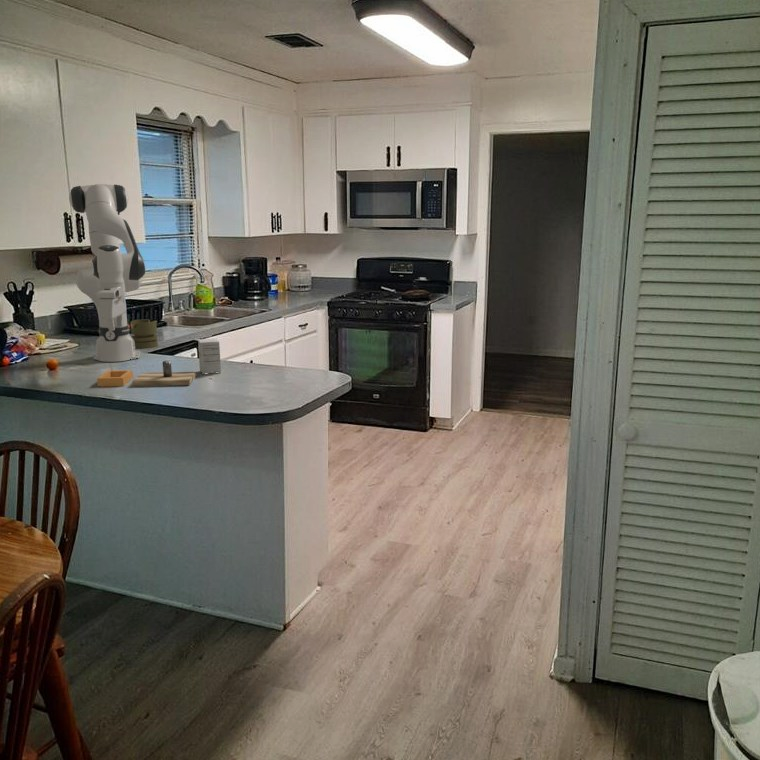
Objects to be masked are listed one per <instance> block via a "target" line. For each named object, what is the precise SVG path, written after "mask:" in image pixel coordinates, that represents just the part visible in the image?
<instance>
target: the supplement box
mask: <svg viewBox="0 0 760 760" xmlns="http://www.w3.org/2000/svg"><path fill="white" fill-rule="evenodd" d="M197 345H198V360H199V361H198V362H199V372H202V373H201V374H202V375H203V374H204V375H206V374H205V373H216V372H221V373H222V369H221V368H222V367H221V365H222V364H221V349H220V348H221V347H220V341H219V340H218V339H217V338H204V339H203V338H202V339H201V338H200V339H197Z"/></svg>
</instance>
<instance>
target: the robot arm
mask: <svg viewBox="0 0 760 760" xmlns="http://www.w3.org/2000/svg"><path fill="white" fill-rule="evenodd" d="M68 199H69V204H70V206H71V207H72V209H73V210H74V211H75V212H76V213H78V214H85V215H86V220H87V222H88V234H89V243H90V244H89V245H90V250H91V252H92V254H93V255H94V256H95V257H94V258H93V259H92V260H91V262H92V266H90V267H87V268H82V269H80V270H79V271H78V272H77V275H76V276H75V283H76V286H77V288H78V290H79V291H80V292H81V293H83V294H85V295H86V296H87V297H89V299H91V301H92V302H93V304H94V305H95V308H96V311H97V314H98V322H99V323H98V324H99V325H98V334H99V335H98V336H99V337H98V338H97V339H96V342H95V343H96V356H93V360H94V361H95V360H97V361H99V362H104V363H105V362H108V363H109V362H110V363H111V362H112V363H114V362H124V361H130V359H131V360H137V359H136V358H138V359H140V358H141V354H142V352H141V349H136V348H135V342H134V340H133V338H132V336H131V334H130V333H131V330H130V329H131V325H130V324H129V323H128V317H127V302H126V295H127V293H129V292H134V291H137V290H139V288H140V287H141V285H142V281H143V277H144V275H146V268H147V267H146V263H145V261H144V258H143V256H142V254H141V252H140V250H139V248H138V244H137V242H136V239H135V237H134V234H133V232H132V230H131V227H130V225H129V223H128V221H127V220H126V219H123V218H122V217H121V216H120V215H121V214H120V213H122V212H125V210H126V209H127V207H128V204H129V196H128V192H127V190H126V188H125V187H124V186H123V185H120V184H107V183H106V184H105V183H104V184H102V183H101V184H99V183H96V184H89V185H82V186H81V185H77V186H73V187H72V188H71V189H70V192H69V197H68ZM119 240H121V241H122V243H123V245H124V249H125V251H126V253H122V250H121V246H120V241H119ZM139 357H140V358H139Z"/></svg>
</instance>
